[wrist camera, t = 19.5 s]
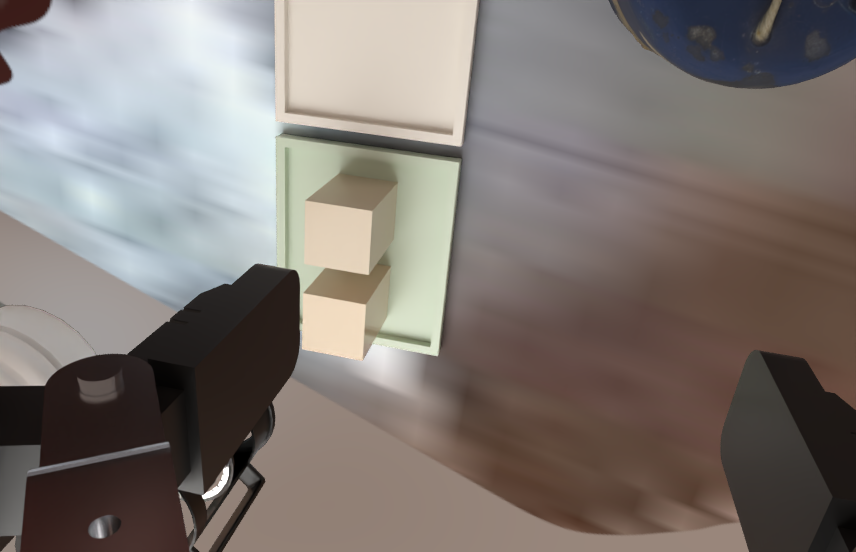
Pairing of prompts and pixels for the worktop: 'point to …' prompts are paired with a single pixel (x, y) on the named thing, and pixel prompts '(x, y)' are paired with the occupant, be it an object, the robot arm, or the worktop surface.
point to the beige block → (350, 223)
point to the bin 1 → (376, 66)
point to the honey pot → (36, 346)
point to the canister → (745, 37)
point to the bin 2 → (413, 236)
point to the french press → (226, 486)
